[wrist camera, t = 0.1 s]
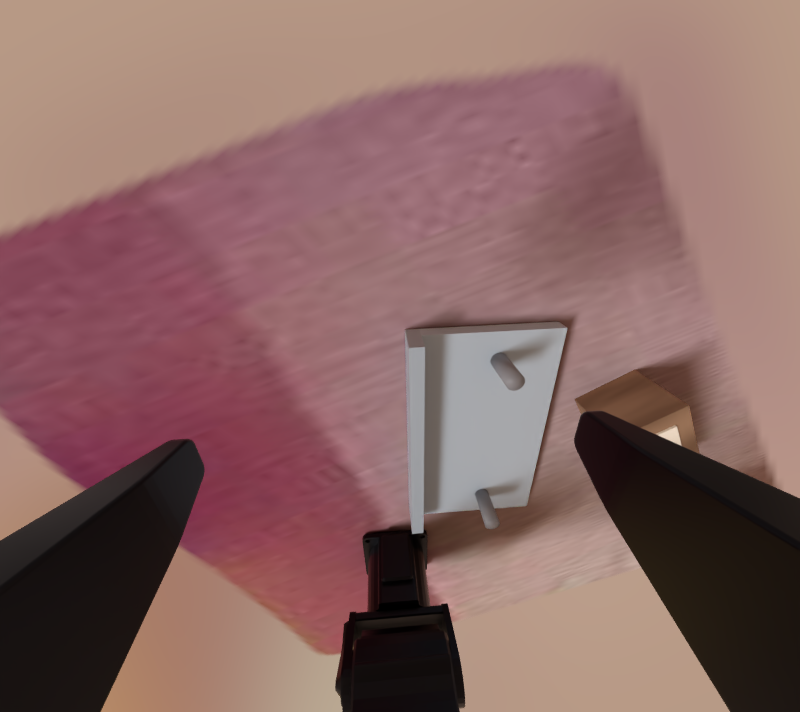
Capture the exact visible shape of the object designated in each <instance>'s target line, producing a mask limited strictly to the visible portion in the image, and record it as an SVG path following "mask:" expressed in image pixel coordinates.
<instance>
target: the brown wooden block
mask: <svg viewBox="0 0 800 712" xmlns="http://www.w3.org/2000/svg"><path fill="white" fill-rule="evenodd" d="M575 401H576V403H577V406H578V408H579V410H580V413H581V415H582V413H583V412H586V411H597V410H600V411H604V412H607V413H609V414H611V415H614V416H616V417H618V418H620V419H623V420H625V421H627V422H629V423H631V424H634V425H636V426H638V427H640V428H643V429H645V430H647V431H649V432H652V433H654V434H656V435H658V436H661V437H663V438H665V439H667V440H670V441H672V442H674V443H676V444H679V445H681V446H683V447H685V448H688V449H690V450H692V451H694V452H696V453H699V449H698V445H697V440H696V435H695V431H694V426H693V421H692V417H691V412H690V407H689V405H688V404H686V403H685V402H683V401H682V400H680V399H679V398H677V397H676V396H674V395H673V394H671V393H670V392H668V391H667V390H665V389H664V388H662V387H661V386H659V385H658V384H656V383H655V382H653V381H652V380H650V379H649V378H647V377H646V376H644V375H643V374H641V373H640V372H638V371H637V370H633V371H631V372H629V373H627V374H625V375H623V376H621V377H619V378H617V379H615V380H613V381H611V382H609V383H607V384H605V385H603V386H600V387H598V388H596V389H594V390H592V391H590V392H588V393H586V394H584V395H582V396H580V397H578V398H576V399H575Z"/></svg>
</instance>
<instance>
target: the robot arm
mask: <svg viewBox="0 0 800 712" xmlns="http://www.w3.org/2000/svg"><path fill="white" fill-rule="evenodd" d="M574 443H575V447H576V450H577V452H578V454H579V456H580V458H581V460H582V462H583V464H584V466H585V468H586V470H587V472H588V474H589V476H590V478H591V480H592V482H593V484H594V486H595V489H596V491H597V493H598V495H599V497H600V499H601V501H602V502H603V504H604V506H605V508H606V510H607V512H608V513H609V515H610V517H611V519H612V520H613V522H614V523H615V525H616V527H617V528H618V530H619V532H620V533H621V535H622V536H623V538H624V540H625V541H626V543H627V545H628V546H629V548H630V550H631V551H632V553H633V554H634V556H635V558H636V559H637V561H638V563H639V564H640V566H641V567H642V569H643V571H644V572H645V574H646V576H647V577H648V579H649V580H650V582H651V584H652V585H653V587H654V588H655V590H656V592H657V593H658V595H659V597H660V598H661V600H662V602H663V603H664V605H665V606H666V608H667V610H668V611H669V613H670V615H671V616H672V617H673V619H674V621H675V623H676V624H677V626H678V628H679V629H680V631H681V633H682V634H683V636H684V637H685V639H686V641H687V642H688V644H689V646H690V647H691V649H692V650H693V652H694V654H695V655H696V657H697V658H698V660H699V662H700V663H701V665H702V666H703V668H704V670H705V672H706V673H707V675H708V676H709V678H710V680H711V681H712V683H713V684H714V686H715V688H716V689H717V691H718V693H719V694H720V696H721V698H722V699H723V701H724V702H725V704H726V706H727V707H728V709H729V711H730V712H800V498H797V497H795V496H793V495H791V494H788V493H786V492H784V491H782V490H779V489H777V488H775V487H773V486H770V485H768V484H766V483H764V482H761V481H759V480H757V479H755V478H753V477H750V476H748V475H746V474H744V473H741V472H739V471H737V470H735V469H732V468H730V467H728V466H726V465H723V464H721V463H719V462H717V461H714V460H712V459H710V458H708V457H705V456H703V455H701V454H699V453H696V452H694V451H692V450H690V449H688V448H685V447H683V446H681V445H679V444H676V443H674V442H672V441H670V440H667V439H665V438H663V437H661V436H658V435H656V434H654V433H652V432H649V431H647V430H645V429H643V428H640V427H638V426H636V425H634V424H631V423H629V422H627V421H625V420H623V419H620V418H618V417H616V416H614V415H611V414H609V413H607V412H604V411H600V410H597V411H586V412H583V413H582V415H581V417H580V420H579V423H578V427H577V430H576V434H575V438H574ZM203 476H204V464H203V462H202V460H201V457H200V455H199V453H198V450H197V448H196V446H195V443H194V442H193V441H192V440H190V439H178V440H170V441H168V442H166V443H164V444H163V445H161V446H159V447H158V448H156V449H154V450H153V451H151V452H149V453H148V454H146V455H144V456H142V457H141V458H139V459H137V460H136V461H134V462H132V463H131V464H129V465H127V466H126V467H124V468H122V469H120V470H119V471H117V472H115V473H114V474H112V475H110V476H109V477H107V478H105V479H104V480H102V481H100V482H99V483H97V484H95V485H93V486H92V487H90V488H88V489H87V490H85V491H83V492H82V493H80V494H78V495H77V496H75V497H73V498H72V499H70V500H68V501H67V502H65V503H63V504H61V505H60V506H58V507H56V508H55V509H53V510H51V511H50V512H48V513H46V514H45V515H43V516H41V517H40V518H38V519H36V520H34V521H33V522H31V523H29V524H28V525H26V526H24V527H23V528H21V529H19V530H18V531H16V532H14V533H12V534H11V535H9V536H7V537H6V538H4V539H2V540H1V541H0V712H101V710H102V708H103V705H104V703H105V701H106V699H107V697H108V695H109V693H110V691H111V688H112V686H113V684H114V682H115V680H116V678H117V676H118V673H119V671H120V669H121V667H122V665H123V663H124V661H125V659H126V656H127V654H128V652H129V650H130V648H131V646H132V644H133V641H134V639H135V637H136V635H137V633H138V631H139V629H140V627H141V624H142V622H143V620H144V618H145V616H146V614H147V612H148V610H149V607H150V605H151V603H152V601H153V599H154V597H155V594H156V592H157V590H158V588H159V586H160V584H161V582H162V580H163V578H164V575H165V573H166V571H167V569H168V567H169V565H170V563H171V561H172V558H173V556H174V554H175V552H176V549H177V547H178V545H179V542H180V540H181V537H182V535H183V532H184V529H185V527H186V524H187V521H188V518H189V516H190V513H191V510H192V507H193V504H194V502H195V499H196V496H197V493H198V490H199V488H200V485H201V482H202V479H203ZM363 548H364V556H365V563H366V571H367V575H368V612H361V613H356V612H350V616H349V621H348V622H346V623H345V624H344V632H343V644H342V651H341V657H340V662H339V667H338V673H337V677H336V686H335V688H336V691H337V693H338V695H339V696H340V698H341V705H342V707H343V712H460V711H459V708H464V707H465V692H464V683H463V675H462V668H461V662H460V657H459V652H458V648H457V644H456V639H455V635H454V630H453V626H452V621H451V617H450V613H449V608H448V604H447V603H446V604H441V605H438V606H430V600H429V592H428V585H427V577H426V569H427V531H426V530H423V533H416V534H412V531H401V532H389V533H377V534H366V535H364V536H363Z"/></svg>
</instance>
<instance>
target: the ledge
mask: <svg viewBox="0 0 800 712" xmlns="http://www.w3.org/2000/svg"><path fill="white" fill-rule="evenodd" d="M566 332H567V327H566V326H564V325H563V324H561V323H560V322H541V323H521V324H502V325H483V326H463V327H444V328H425V329H405V355H406V399H407V442H408V485H409V509H410V519H411V528H412V534H416V533H423V527H424V514H432V513H445V512H457V511H470V510H480V512H481V515H482V518H483V521H484V524H485V527H486V528H488V529H494V528H497V527H498V526H499V524H500V522H499V520H498V517H497V514H496V512H495V508H508V507H521V506H527V502H528V498H529V493H530V489H531V485H532V480H533V476H534V472H535V467H536V463H537V459H538V454H539V450H540V445H541V441H542V437H543V432H544V428H545V424H546V419H547V415H548V411H549V406H550V402H551V398H552V393H553V389H554V385H555V380H556V376H557V372H558V367H559V363H560V359H561V354H562V350H563V345H564V341H565V337H566Z"/></svg>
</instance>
